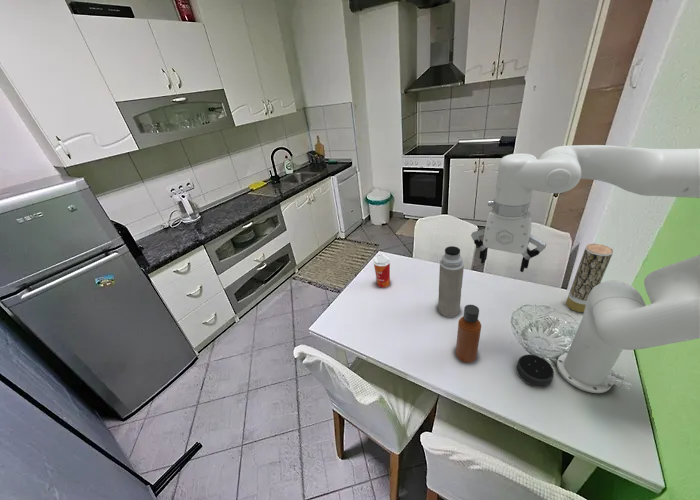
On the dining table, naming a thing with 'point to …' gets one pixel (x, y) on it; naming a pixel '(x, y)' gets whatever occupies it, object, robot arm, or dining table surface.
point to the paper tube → (588, 274)
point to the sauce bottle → (467, 340)
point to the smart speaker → (535, 370)
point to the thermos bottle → (450, 282)
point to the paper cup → (382, 270)
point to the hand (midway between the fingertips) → (502, 265)
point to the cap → (471, 313)
